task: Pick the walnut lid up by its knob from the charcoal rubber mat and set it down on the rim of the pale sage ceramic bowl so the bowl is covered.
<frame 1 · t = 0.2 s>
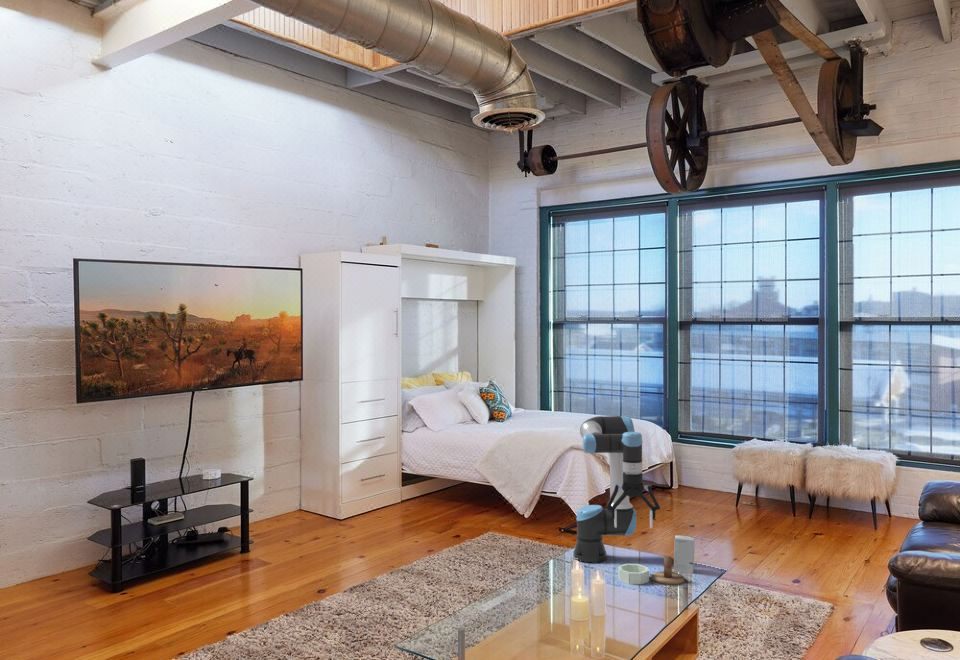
hand: (633, 527, 279), 28 cm above the table, fingers open, 13 cm apart
bowl: (633, 580, 298), on the table
skincare box: (684, 572, 308), on the table
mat: (667, 581, 297), on the table
lid: (667, 579, 297), point 1 cm above the table, touching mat
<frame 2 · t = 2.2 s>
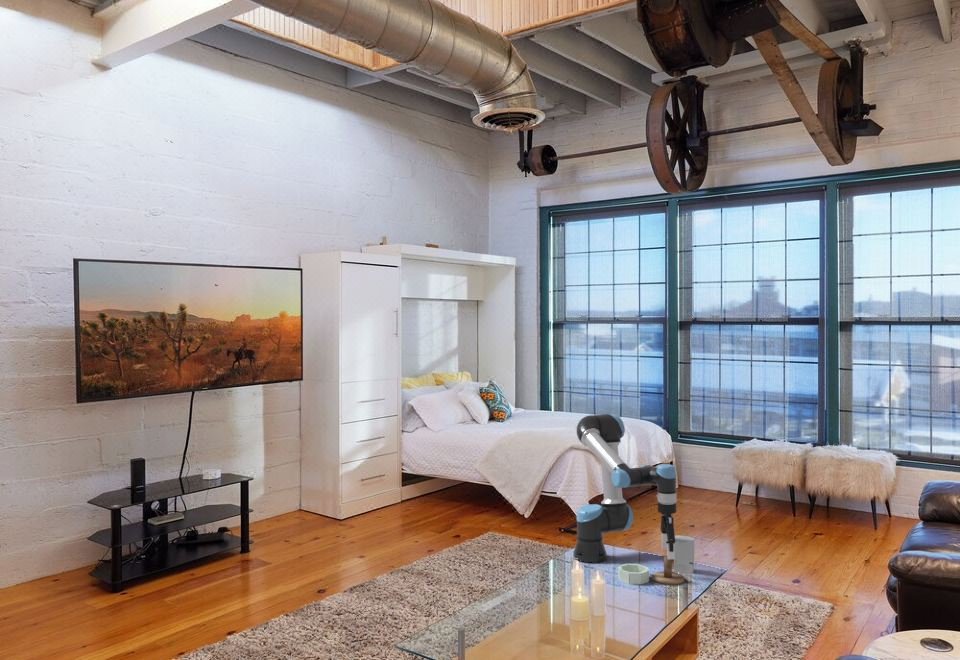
hand: (668, 554, 297), 11 cm above the table, fingers open, 13 cm apart
nothing on the table moved.
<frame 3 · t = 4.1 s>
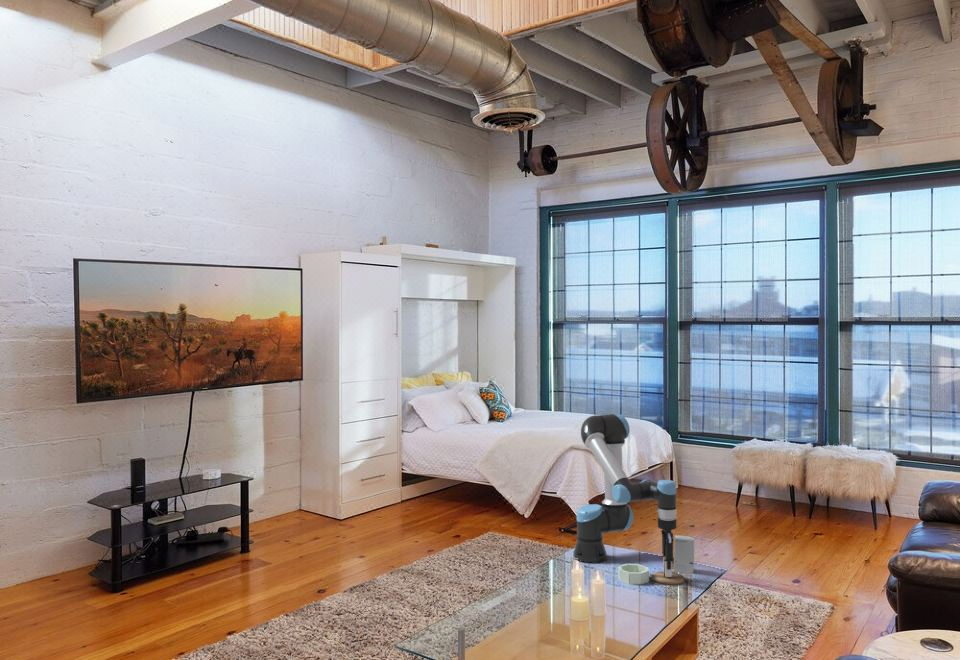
hand: (667, 574, 297), 3 cm above the table, fingers closed on lid, 3 cm apart
lid: (667, 579, 297), point 1 cm above the table, touching gripper, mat
everything else where it was.
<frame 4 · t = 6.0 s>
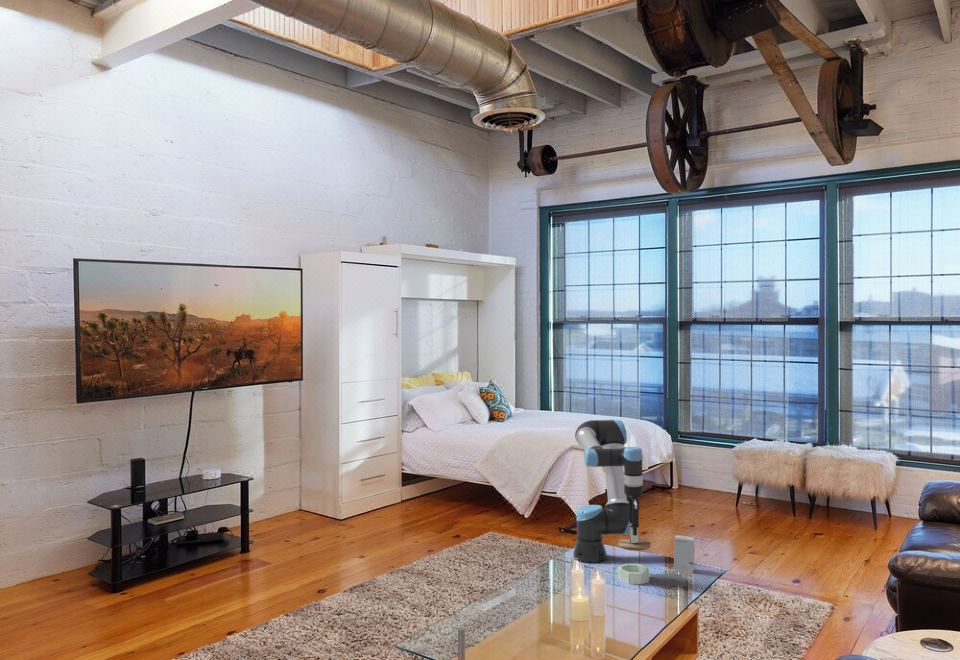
hand: (634, 541, 298), 16 cm above the table, fingers closed on lid, 3 cm apart
lid: (634, 545, 298), point 14 cm above the table, touching gripper
everything else where it was.
when the fingers open (9 cm above the table, at t = 8.0 s): lid drops 2 cm, resting on bowl.
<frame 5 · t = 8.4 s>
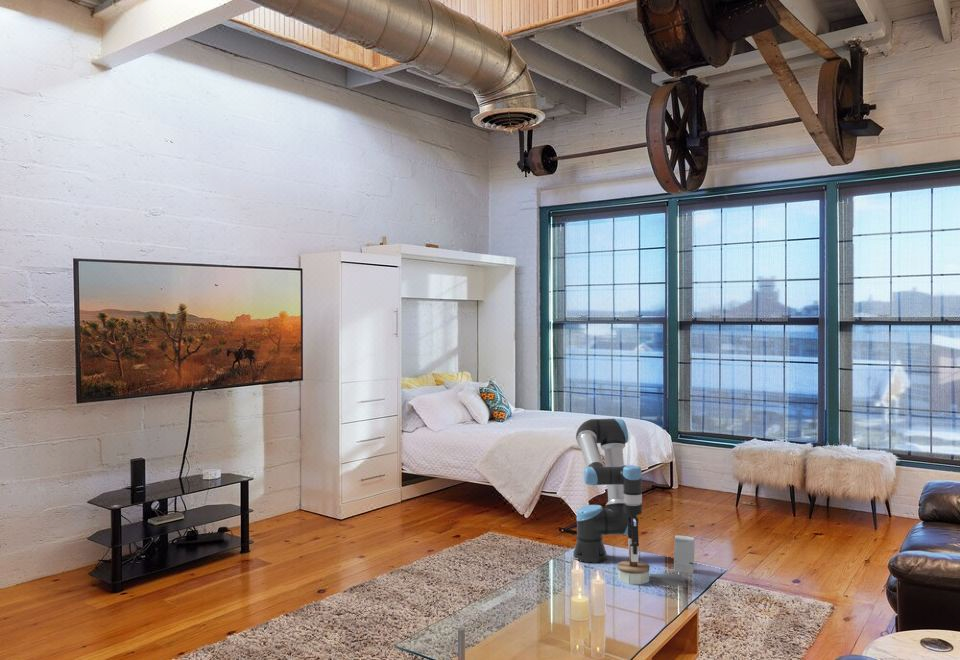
hand: (633, 557, 298), 9 cm above the table, fingers open, 9 cm apart
lid: (633, 568, 298), point 5 cm above the table, touching bowl
everything else where it was.
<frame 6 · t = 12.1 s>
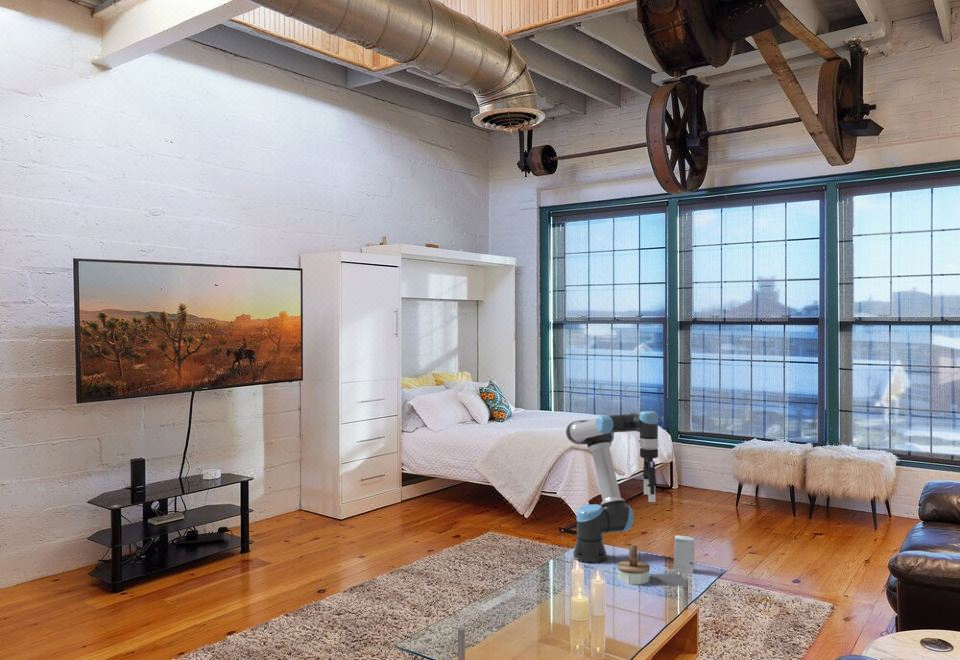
hand: (649, 498, 304), 33 cm above the table, fingers open, 13 cm apart
nothing on the table moved.
at the end: lid 0.0 cm off-centre on the bowl, point 5.0 cm above the bowl's base; lid tilted 0°; the gripper is holding nothing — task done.
